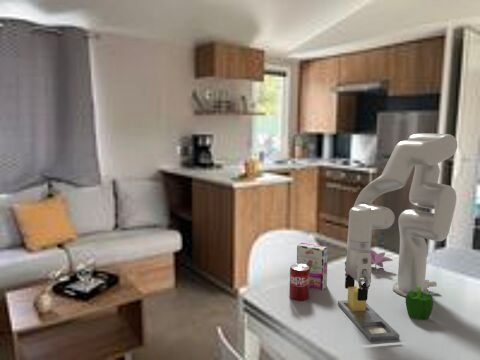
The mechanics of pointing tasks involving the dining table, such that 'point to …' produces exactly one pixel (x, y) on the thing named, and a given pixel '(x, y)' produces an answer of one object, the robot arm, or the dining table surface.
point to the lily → (378, 258)
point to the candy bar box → (314, 263)
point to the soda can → (299, 282)
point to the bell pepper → (419, 304)
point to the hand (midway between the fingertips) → (355, 294)
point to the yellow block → (355, 300)
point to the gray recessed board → (370, 323)
